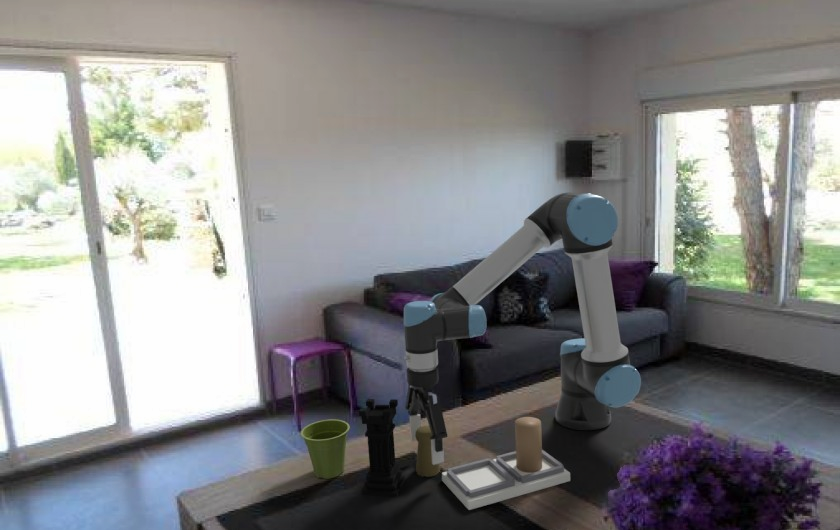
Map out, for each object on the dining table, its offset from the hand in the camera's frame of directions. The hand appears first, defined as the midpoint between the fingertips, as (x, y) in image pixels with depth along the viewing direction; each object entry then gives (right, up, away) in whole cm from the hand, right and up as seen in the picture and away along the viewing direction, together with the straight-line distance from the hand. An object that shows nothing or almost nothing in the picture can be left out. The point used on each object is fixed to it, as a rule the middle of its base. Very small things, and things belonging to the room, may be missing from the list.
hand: (426, 451), depth 148 cm
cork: (0, -5, +1) cm, 5 cm away
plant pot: (-24, -6, +3) cm, 25 cm away
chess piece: (-10, -7, -5) cm, 13 cm away
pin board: (+18, -5, -6) cm, 20 cm away
